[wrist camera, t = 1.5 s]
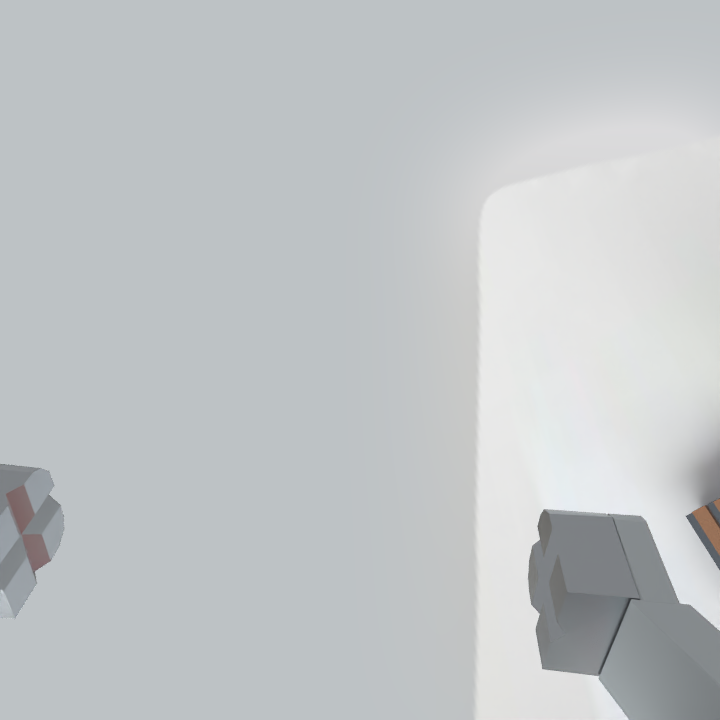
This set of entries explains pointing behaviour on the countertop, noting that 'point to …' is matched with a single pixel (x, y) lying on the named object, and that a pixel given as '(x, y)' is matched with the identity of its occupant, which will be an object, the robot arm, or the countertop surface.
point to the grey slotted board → (708, 528)
